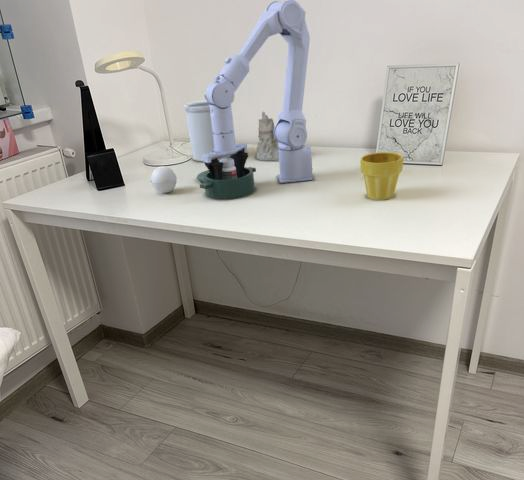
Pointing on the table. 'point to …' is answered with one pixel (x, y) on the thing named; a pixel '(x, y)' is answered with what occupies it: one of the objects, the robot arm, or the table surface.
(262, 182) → the table surface
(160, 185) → the white rounded ovoid
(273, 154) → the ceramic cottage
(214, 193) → the pot
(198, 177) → the lid
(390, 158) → the flower pot
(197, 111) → the utensil holder
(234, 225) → the table surface
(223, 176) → the pill bottle
